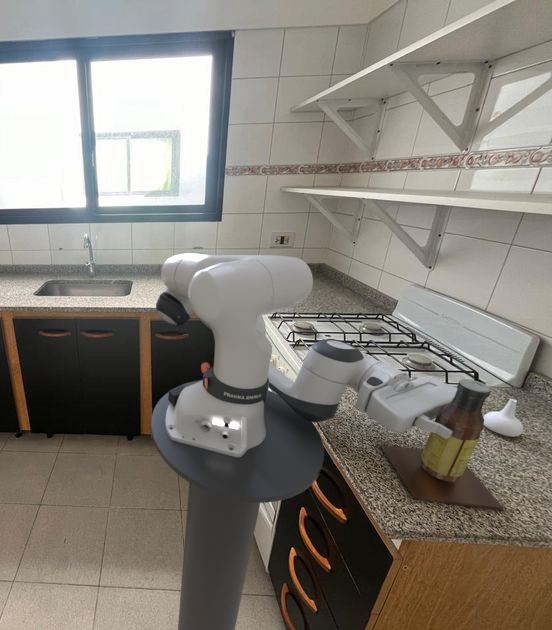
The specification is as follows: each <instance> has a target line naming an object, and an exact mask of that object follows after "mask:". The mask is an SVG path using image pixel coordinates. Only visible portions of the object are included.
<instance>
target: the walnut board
mask: <svg viewBox="0 0 552 630" xmlns="http://www.w3.org/2000/svg"><path fill="white" fill-rule="evenodd" d="M380 449H381V451H382V452H383V453H384V455H385V457H386V458H387V459H388V461H389V463H390V465H391V466H392V468H393V469H394V471H395V472H396V474H397V475H398V476H399V478H400V480H401V482H402V483H403V484H404V486H405V488H406V489H407V491H408V492H409V494H410V496H411V497H412V498H413V500H414V499H415V500H420V501H429V502H436V503H444V504H451V505H459V506H465V507H473V508H481V509H482V508H483V509H489V510H497V511H503V510H504V508H505V507H504V506H503V505H502V504H501V503H500V502H499V501H498V500H497V498H496V497H495V496H494V495H493V494H492V493H491V492H490V491H489V489H488V488H486V486H485V485H484V484H483V483H482V482H481V481H480V479H479V478H478V477H477V476H476V475H475V473H474V472H472V470H471V469H470V468H469V467H468V465H467V466H466V469H465V471H464V473H463V474H462V475H461V477H460V479H459V480H458V481H455V482H446V481H443V480H440V479H438V478H436V477H434V476H431V475H430V474H429V473H428V472H426V470H424V468H423V467H422V465H421V459H422V458H421V455H422V452H423V450H424V449H416V448H407V447H400V446H389V445H381V446H380Z"/></svg>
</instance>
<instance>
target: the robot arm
mask: <svg viewBox="0 0 552 630" xmlns="http://www.w3.org/2000/svg"><path fill="white" fill-rule="evenodd" d="M160 270H161V271H160V277H161V280H162V283H163V284H164V286H165V288H164V289H163V291H162V292H161V293H160V294H159V296H158V297H157V300H156V304H155V309H156V312H157V313H158V315H159V317H160V318H161V319H162V320H163V321H165V322H166V323H167V324H170V325H174V326H177V327H179V326H183V325H185V324H186V323H187V322H188V321H189V320H191V317H192V316H193V315H194V314H195V315H196V317H198V319H199V320H200V322H201V323H202V324H204V326H206V327H207V328H208V329H210V330H211V331H212V335H213V338H214V357H213V366H211V365H210V363H208V362H202V363H201V365H200V371H201V373H202V379H200V380H201V381H199V380H198V381H199V382H197V383H195V384H192V385H190V386H187V387H185V386H181V385H180V386H181V387H178V386H177V387H178V388H176V387H175V389H174V388H172V389H170V390H168V392H169V397H168V401H170V402H171V403H170V405H169V407H168V409H167V412H166V418H165V427H166V432H167V434H168V436H169V437H170V439H171V440H173V441H177V442H180V443H184V444H188V445H192V446H195V447H199V448H203V449H207V450H210V451H214V452H218V453H222V454H226V455H229V456H233V457H241V456H243V455H244V454H245V453H246V451H247V450H249V449H251V448H253V447H256V446H257V445H259V444H260V443H262V441H263V440H264V438H265V436H266V429H265V424H264V403H265V401H266V397H267V395H268V390H269V389H271V391H272V392H274V393H276V394H277V395H279V396H280V397H281V398H282V399H283V400H284V401H285V402H286V403H287V404H288V405H289V406H290V408H291V409H292V410H293V411H294V412H296V413H297V414H298V415H299V416H301V417H302V418H304V419H306V420H308V421H311V422H312V423H321V422H326V421H329V420H331V419H334V418H335V417H336V413H337V410H338V408H339V405H340V401H341V400H342V398H343V395H344V394H345V391H346V389H347V388H350V389H352V390H354V391H355V392H356V394H357V398H356V402H355V406H354V409H356V410H357V411H358V412H360V413H362V414H366V415H367V416H368V417H369V418H370V419H371V420H373V421H375V423H377V424H380V426H382V427H384V428H385V429H387V430H388V431H392V432H395V433H399V434H400V433H401V434H402V433H404V432H406V431H408V430H411V429H413V428H415V427H417V428H418V429H420V430H423V431H425V432H429V433H430V432H432V433H436V434H438V435H440V436H442V437H443V438H445V439H448V438H450V437H452V436H453V435H454V433H455V430H454V429H453V428H452V427H449V426H448V425H446V424H439V423H436V422H435V419H436V417H437V415H438V414H439V413H440V412H441V410H442V409H444V408H445V407H447V406H448V405H449V404H450V403H451V401H452V400H453V398H454V396H455V394H456V392H457V387H455V386H453V385H450V384H448V383H445V382H443V381H440V380H438V379H435V378H431V377H427V376H421V377H417V376H413V377H410V376H409V374H408V373H407V372H405V371H403V370H401V369H399V368H396V367H394V366H392V365H390V364H388V363H386V362H384V361H382V360H378V359H374V358H372V357H371V356H369V355H368V354H367V353H365V352H363V351H361V350H360V349H359V348H358V347H356V346H354V345H351V344H349V343H348V342H345V341H342V340H340V339H337V338H336V339H335V338H326V339H321V340H319V341H316V342H314V343H312V344H311V346H310V347H309V349H308V351H307V353H306V354H305V356H304V360H303V361H302V364H301V367H300V369H299V371H298V373H297V376H296V378H295V380H292V379H291V378H289V376H287V375H286V374H285V373H284V372H282V371H281V370H279V369H278V368H277V367H275V366H274V365H273V364H272V362H271V360H272V354H273V345H272V343H271V341H270V339H269V338H268V337H267V335H266V334H267V327H266V323H265V319H264V316H265V315H269V314H274V313H278V312H282V311H286V310H288V309H290V308H292V307H294V306H296V305H299V304H300V303H303V302H304V301H305V300H306V299H308V297H309V296H310V294H311V293H312V290H313V286H314V278H313V272H312V270H311V268H310V267H309V265H308V264H307V263H306V261H304V260H303V259H301V258H299V257H295V256H287V255H274V254H272V255H270V254H208V253H204V252H186V253H185V252H184V253H179V254H175V255H172V256H171V257H168V258H167V259H166V260H165V262H164V263H163V264H162V267H161V269H160ZM433 420H434V421H433Z"/></svg>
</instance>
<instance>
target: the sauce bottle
mask: <svg viewBox="0 0 552 630" xmlns="http://www.w3.org/2000/svg"><path fill="white" fill-rule="evenodd" d="M456 388H457V392H456V394H455V396H454V398H453V400H452V401H451V403H450V404H449V405H448V406H447V407H445V408H444V409H442V410H441V412H440V413H439V414H438V415H437V417H436V418H434V422H436V423H439V424H446V425H448V426H449V427H452V428H453V429H454V430H455V433H454V435H453V436H452V437H450V438H448V439H445V438H443V437H442V436H440V435H438V434H436V433H432V432H429V435H428V437H427V440H426V442H425V445H424V447H423V449H422V450H423V452H422V455H421V458H422V459H421V465H422V467H423V468H424V470H426V472H428V473H429V474H430V475H431V476H434V477H436V478H438V479H440V480H443V481H446V482H455V481H458V480H459V479H460V477H461V475H462V474H463V473H464V471H465V469H466V466H467V467H468V464H469V462H470V460H471V458H472V455H473V453H474V451H475V448H476V447H477V444H478V442H479V440H480V438H481V433H482V432H483V430H484V418H483V417H484V415H483V412H482V410H483V406H484V404H485V401H486V399H487V398H489V397H490V395H491V392H492V390H491V387H489V386H488V385H487V384H485V383H483V382H480V381H477V380H474V379H470V378H464V379H461V380H459V381H458V383H457V385H456Z"/></svg>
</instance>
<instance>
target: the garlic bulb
mask: <svg viewBox="0 0 552 630" xmlns="http://www.w3.org/2000/svg"><path fill="white" fill-rule="evenodd" d="M517 403H518V400H517V399H515V398H509V400H508V402H507V403H506V404H505V406H504V407H503V408H502V409H501V410H500V411H496V410H495V411H490V412H487V413H486V414H484V415H483V418H484V424H483V427H484V426H485V428H486V429H488V430H490V431H492V432H494V433H496V434H499V435H501V436H505V437H513V438H515V437H519V436H521V435H522V434H523V433H524V425H523V422H521V420H519V418H517V417H516V408H517Z"/></svg>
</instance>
